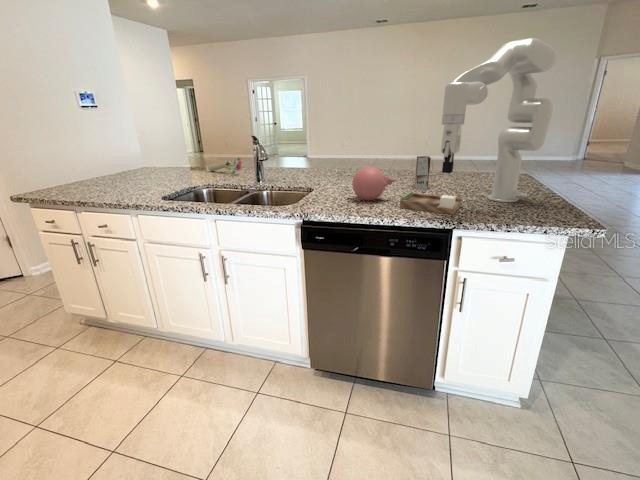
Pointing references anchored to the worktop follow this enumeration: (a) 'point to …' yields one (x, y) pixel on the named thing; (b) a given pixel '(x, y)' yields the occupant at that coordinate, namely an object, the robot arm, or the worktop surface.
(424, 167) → the coffee box
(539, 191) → the worktop surface
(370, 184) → the balloon
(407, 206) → the box
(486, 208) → the worktop surface
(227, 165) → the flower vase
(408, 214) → the worktop surface
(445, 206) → the block
